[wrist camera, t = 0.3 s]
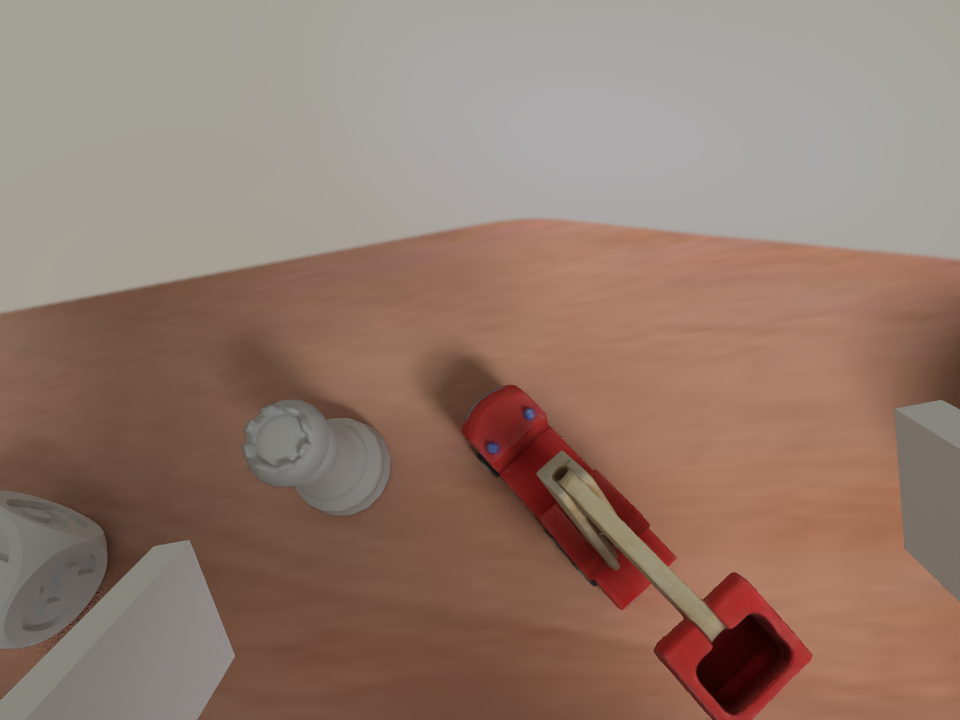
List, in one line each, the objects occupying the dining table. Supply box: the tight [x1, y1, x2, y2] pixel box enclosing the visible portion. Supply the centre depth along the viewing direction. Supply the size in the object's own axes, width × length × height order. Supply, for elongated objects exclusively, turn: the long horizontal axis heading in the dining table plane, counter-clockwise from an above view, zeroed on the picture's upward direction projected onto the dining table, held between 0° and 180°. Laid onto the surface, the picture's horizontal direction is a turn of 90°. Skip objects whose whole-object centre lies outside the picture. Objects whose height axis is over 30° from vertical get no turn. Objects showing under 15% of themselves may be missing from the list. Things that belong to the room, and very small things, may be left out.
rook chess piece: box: [242, 399, 391, 516], centre depth 27 cm, size 4×4×8 cm
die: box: [0, 491, 108, 649], centre depth 28 cm, size 5×5×5 cm
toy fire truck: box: [462, 385, 812, 720], centre depth 24 cm, size 3×14×10 cm, turn 41°
